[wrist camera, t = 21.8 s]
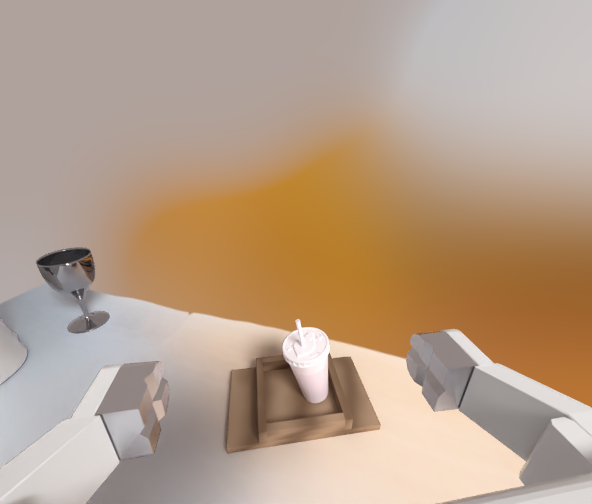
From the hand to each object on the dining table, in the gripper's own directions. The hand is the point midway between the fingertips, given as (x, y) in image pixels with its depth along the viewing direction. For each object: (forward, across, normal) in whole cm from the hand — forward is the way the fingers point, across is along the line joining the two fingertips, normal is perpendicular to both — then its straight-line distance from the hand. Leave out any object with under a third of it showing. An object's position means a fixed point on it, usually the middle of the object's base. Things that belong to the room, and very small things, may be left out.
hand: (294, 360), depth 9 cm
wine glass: (+45, +36, +30) cm, 65 cm away
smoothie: (+21, -6, +29) cm, 36 cm away
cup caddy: (+21, -4, +30) cm, 37 cm away
